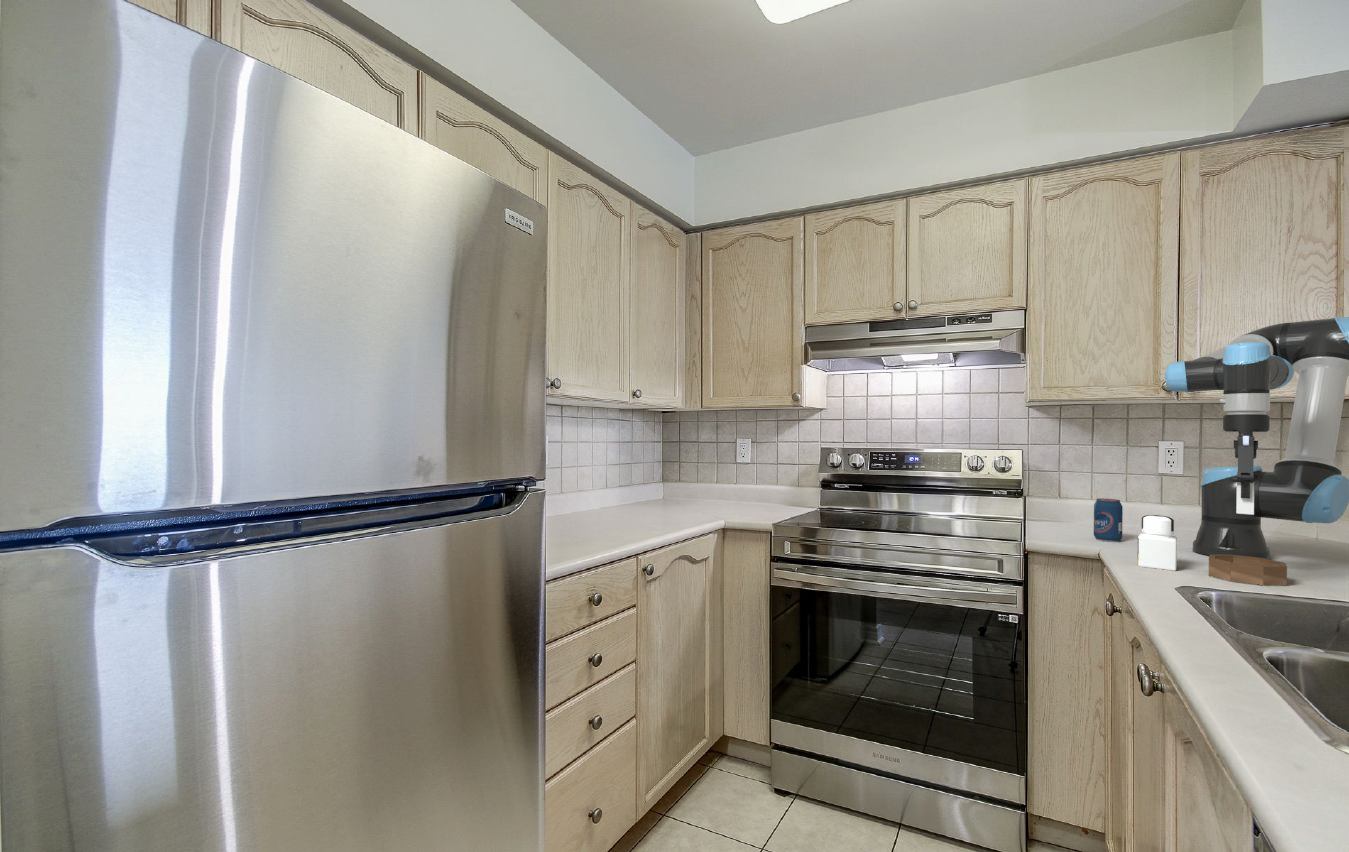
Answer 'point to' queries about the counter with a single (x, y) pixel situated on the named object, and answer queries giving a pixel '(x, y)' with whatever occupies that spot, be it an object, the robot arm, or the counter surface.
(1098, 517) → the soda can
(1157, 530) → the medicine bottle
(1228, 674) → the counter surface
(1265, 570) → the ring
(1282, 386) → the robot arm
